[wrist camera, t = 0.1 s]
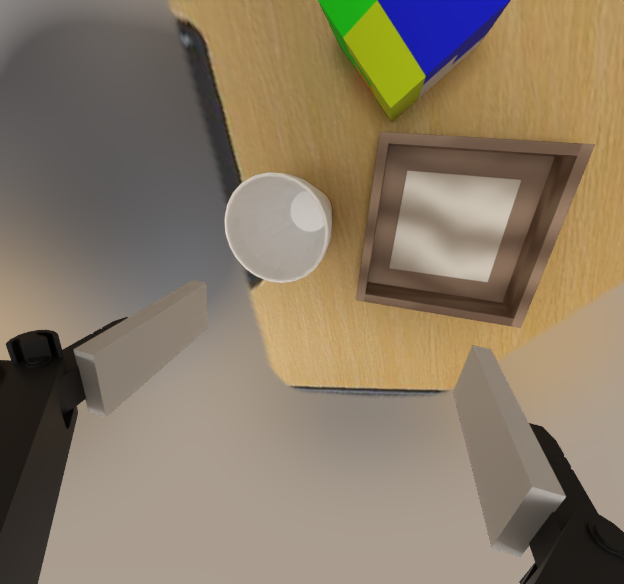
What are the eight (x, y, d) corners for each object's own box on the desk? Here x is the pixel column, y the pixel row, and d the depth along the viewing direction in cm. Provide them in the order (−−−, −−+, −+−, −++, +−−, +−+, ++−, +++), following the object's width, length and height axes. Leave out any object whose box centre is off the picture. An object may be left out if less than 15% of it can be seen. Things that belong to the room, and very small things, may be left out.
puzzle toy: (477, 47, 31) (510, -1, 22) (391, 122, 35) (390, 108, 26) (421, -47, 29) (432, -140, 20) (338, 43, 33) (317, 0, 24)
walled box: (382, 135, 35) (380, 131, 31) (566, 147, 32) (594, 144, 27) (360, 285, 43) (355, 300, 39) (506, 309, 39) (520, 327, 35)
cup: (358, 237, 41) (343, 269, 29) (288, 257, 44) (248, 293, 32) (335, 156, 38) (306, 153, 26) (262, 185, 41) (206, 194, 29)
